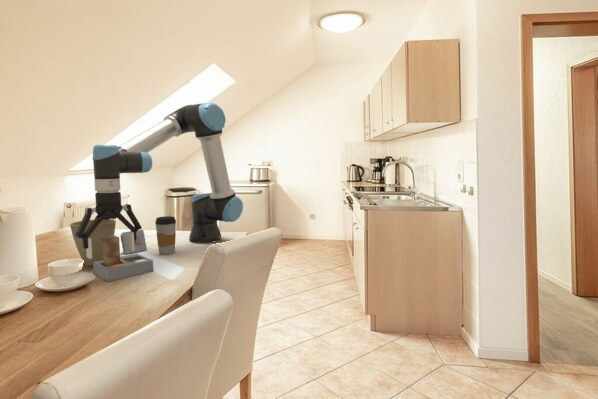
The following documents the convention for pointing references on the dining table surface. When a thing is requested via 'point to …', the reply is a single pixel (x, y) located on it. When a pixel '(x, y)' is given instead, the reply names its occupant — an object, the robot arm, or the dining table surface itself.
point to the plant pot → (93, 239)
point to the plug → (111, 250)
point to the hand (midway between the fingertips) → (111, 253)
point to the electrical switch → (138, 243)
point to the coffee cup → (166, 234)
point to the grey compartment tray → (123, 267)
